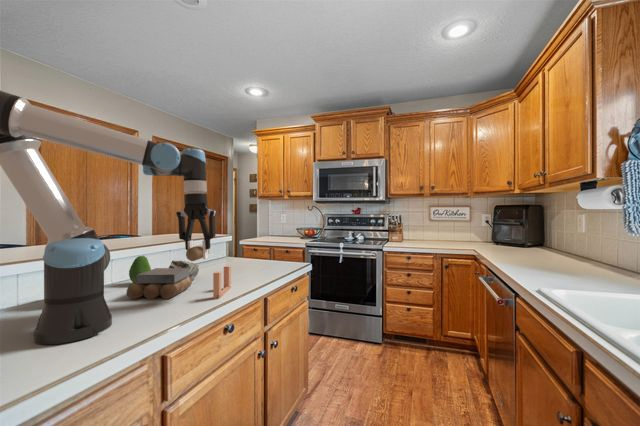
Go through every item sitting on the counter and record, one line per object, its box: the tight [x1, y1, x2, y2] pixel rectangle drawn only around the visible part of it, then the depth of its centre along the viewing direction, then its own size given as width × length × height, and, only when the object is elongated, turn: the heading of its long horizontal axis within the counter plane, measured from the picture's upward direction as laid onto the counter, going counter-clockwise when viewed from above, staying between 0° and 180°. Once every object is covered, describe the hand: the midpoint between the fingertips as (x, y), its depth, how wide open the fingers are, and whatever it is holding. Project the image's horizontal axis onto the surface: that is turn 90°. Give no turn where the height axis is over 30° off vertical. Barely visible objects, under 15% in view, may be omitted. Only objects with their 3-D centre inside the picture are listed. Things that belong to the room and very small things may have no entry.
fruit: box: [128, 255, 152, 285], centre depth 119 cm, size 8×8×12 cm
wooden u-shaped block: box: [212, 265, 232, 300], centre depth 106 cm, size 14×2×9 cm, turn 1°
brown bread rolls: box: [126, 277, 193, 300], centre depth 106 cm, size 14×16×5 cm
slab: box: [137, 267, 189, 283], centre depth 106 cm, size 12×13×3 cm
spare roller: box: [185, 244, 210, 262], centre depth 101 cm, size 8×5×5 cm
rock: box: [168, 259, 200, 282], centre depth 125 cm, size 18×10×10 cm, turn 6°
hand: (198, 258), depth 101 cm, fingers closed on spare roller, 4 cm apart
